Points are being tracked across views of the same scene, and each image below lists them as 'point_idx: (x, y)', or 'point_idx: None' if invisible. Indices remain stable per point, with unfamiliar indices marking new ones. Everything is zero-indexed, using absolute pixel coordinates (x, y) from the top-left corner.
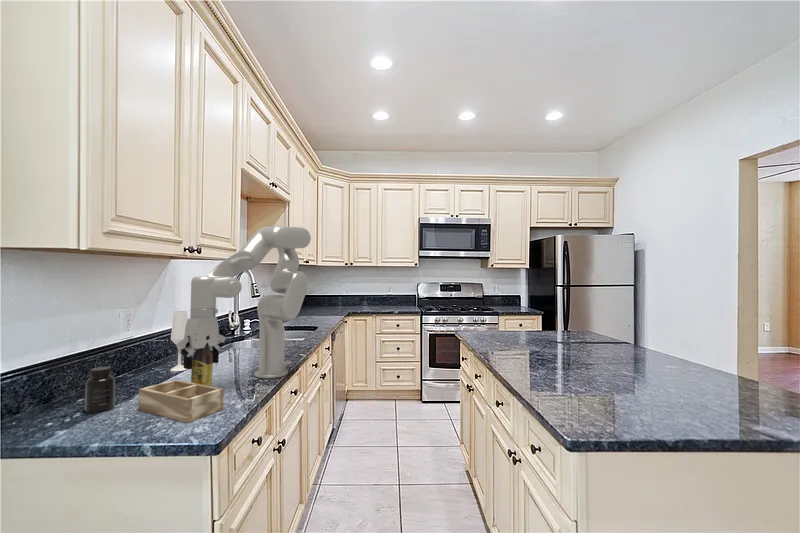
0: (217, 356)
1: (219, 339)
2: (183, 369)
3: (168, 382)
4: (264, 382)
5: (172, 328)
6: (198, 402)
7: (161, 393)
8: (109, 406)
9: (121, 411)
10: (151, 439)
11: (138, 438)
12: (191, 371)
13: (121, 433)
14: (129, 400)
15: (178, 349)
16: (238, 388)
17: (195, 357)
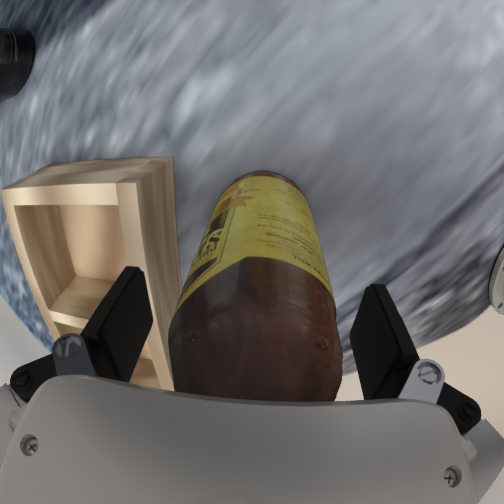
0: (362, 375)
1: (473, 454)
2: None
3: (88, 201)
4: (453, 306)
5: None
6: None
7: (40, 304)
8: (8, 96)
9: (25, 135)
10: (45, 339)
11: (31, 320)
12: (200, 247)
13: (12, 279)
14: (82, 26)
15: (6, 388)
16: (382, 282)
17: (171, 365)
